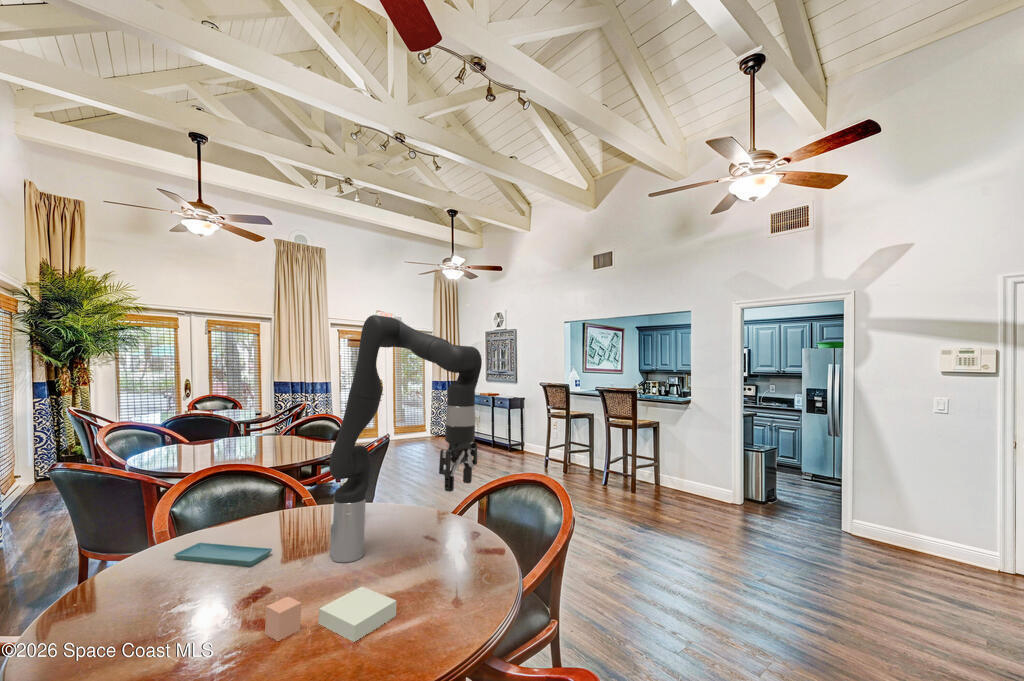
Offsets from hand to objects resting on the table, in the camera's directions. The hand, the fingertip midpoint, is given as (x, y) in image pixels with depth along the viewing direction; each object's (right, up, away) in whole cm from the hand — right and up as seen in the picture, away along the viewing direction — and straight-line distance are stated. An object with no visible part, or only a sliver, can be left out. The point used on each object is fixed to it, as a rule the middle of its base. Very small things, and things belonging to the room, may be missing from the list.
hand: (458, 486), depth 113 cm
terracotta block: (-37, -27, -16) cm, 48 cm away
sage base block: (-22, -28, -11) cm, 37 cm away
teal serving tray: (-73, -29, +20) cm, 81 cm away
